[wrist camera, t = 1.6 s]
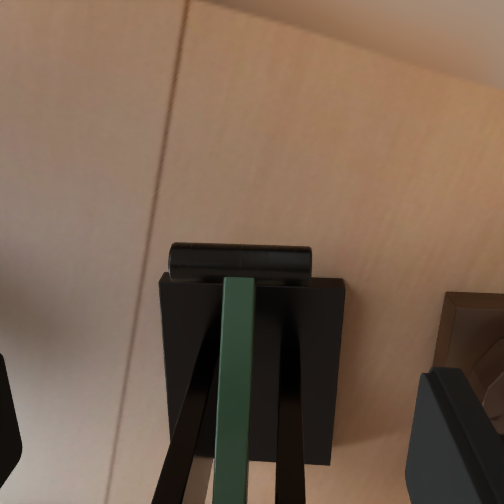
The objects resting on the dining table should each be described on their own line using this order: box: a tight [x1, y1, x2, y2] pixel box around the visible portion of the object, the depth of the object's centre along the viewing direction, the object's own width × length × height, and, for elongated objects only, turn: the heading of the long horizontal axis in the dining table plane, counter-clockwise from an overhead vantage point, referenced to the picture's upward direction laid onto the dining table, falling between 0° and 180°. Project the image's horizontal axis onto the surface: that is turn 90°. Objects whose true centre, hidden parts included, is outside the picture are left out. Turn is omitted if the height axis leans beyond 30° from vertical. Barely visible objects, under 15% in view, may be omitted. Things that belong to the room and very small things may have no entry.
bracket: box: [151, 272, 346, 504], centre depth 20 cm, size 11×9×13 cm
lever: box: [168, 242, 312, 504], centre depth 16 cm, size 12×5×2 cm, turn 0°
